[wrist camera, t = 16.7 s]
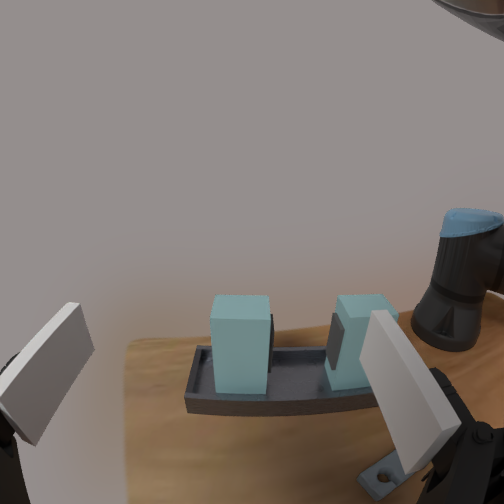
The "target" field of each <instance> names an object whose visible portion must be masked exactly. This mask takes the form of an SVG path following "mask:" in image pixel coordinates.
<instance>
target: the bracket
mask: <svg viewBox="0 0 504 504" xmlns="http://www.w3.org/2000/svg"><path fill="white" fill-rule="evenodd" d="M415 472H416V471H415ZM415 472H412V473H409V474H406V475H405V472H404V469H403V467H402V464H401V461H400V458H399V456H398V453H397V450H396V449H395V450H394V451H393V452H391V453H390V454H388V455H387V456H386V457H384V458H383V459H381V460H380V461H378V462H377V463H375V464H374V465H372V466H371V467H369V468H368V469H366V470H365V471H363V472H361V473H360V475H359V476H358V477H357V481H358V482H359V484H360V485H361V486H362V487H363V488H364V489H365V490H366V491H367V492H368V494H369V495H370V496H371V497H372V498H373V499H374V500H375V501H379V500H381V499H382V498H383V497H385V496H386V495H388V494H389V493H390V492H391V491H393V490H394V489H395V488H396V487H398V486H399V485H401V484H402V483H403V482H404V481H406V480H407V479H408V478H409V477H411V476H412V475H413V474H414V473H415ZM379 474H384V475H386V476H387V477H388V480H389V482H387V483H383V482H380V481H379V480H378V479H377V475H379Z"/></svg>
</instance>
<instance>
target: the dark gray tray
mask: <svg viewBox="0 0 504 504" xmlns="http://www.w3.org/2000/svg"><path fill="white" fill-rule="evenodd" d="M326 347H327V346H312V347H273V357H272V369H271V373H267V385H266V394H237V393H216V389H215V378H214V367H213V355H212V346H200V345H197V348H196V352H195V356H194V360H193V364H192V367H191V371H190V375H189V379H188V384H187V388H186V392H185V396H184V399H185V404H186V408H187V413H194V414H206V415H221V416H296V415H311V414H323V413H333V412H342V411H350V410H357V409H364V408H370V407H376V406H379V404H378V402H377V399H376V397H375V395H374V392H373V390H372V387H371V386H368V387H361V388H353V389H344V390H334V391H332V389H331V385H330V382H329V379H328V376H327V372H326V369H325V366H324V365H325V360H326V356H327V355H326Z"/></svg>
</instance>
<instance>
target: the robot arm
mask: <svg viewBox="0 0 504 504" xmlns="http://www.w3.org/2000/svg"><path fill="white" fill-rule="evenodd" d="M432 1H433V2H435V3H436V4H437V5H439V6H441V7H442V8H444V9H445V10H447V11H449V12H450V13H452V14H453V15H455V16H457V17H458V18H460V19H462V20H463V21H465V22H467V23H468V24H470V25H472V26H474V27H476V28H478V29H480V30H481V31H483V32H485V33H487V34H489V35H491V36H493V37H495V38H497V39H499V40H502V41H504V0H432ZM487 290H491V291H494V292H497V293H500V294H503V295H504V217H503V215H502V214H499V213H496V212H490V211H487V210H479V209H470V208H455V209H451V210H449V211H448V212H447V213H446V214H445V217H444V221H443V225H442V230H441V232H440V242H439V247H438V252H437V257H436V261H435V266H434V270H433V274H432V278H431V282H430V285H429V287H428V289H427V291H426V292H425V294H424V296H423V298H422V300H421V301H420V303H419V304H417V306H416V307H415V309H414V312H413V315H412V318H411V326H412V329H413V330H414V332H415V333H416V334H417V335H418V336H419V337H420V338H421V339H422V340H423V341H425V342H426V343H428V344H430V345H432V346H434V347H436V348H439V349H442V350H446V351H452V352H460V351H465V350H468V349H470V348H472V347H473V346H474V345H475V343H476V341H477V339H478V336H479V334H480V327H481V326H480V323H481V315H482V304H483V300H484V297H485V294H486V291H487ZM94 350H95V349H94V346H93V343H92V340H91V337H90V334H89V331H88V328H87V325H86V322H85V319H84V315H83V312H82V308H81V305H80V303H71V302H68V303H67V304H66V305H65V306H64V307H63V308H62V309H61V310H60V311H59V312H58V313H57V314H56V315H55V316H54V317H53V318H52V319H51V320H50V321H49V322H48V323H47V324H46V325H45V326H44V327H43V328H42V329H41V330H40V331H39V332H38V333H37V334H36V336H35V337H34V338H33V339H32V340H31V341H30V342H29V343H28V344H27V345H26V346H25V348H24V349H23V350H22V351H21V352H19V353H18V354H16V355H15V356H13V357H12V358H11V359H10V360H9V361H8V362H7V364H6V366H4V367H3V368H2V370H1V372H0V504H31V503H30V500H29V497H28V493H27V490H26V486H25V482H24V478H23V474H22V469H21V464H20V459H19V454H18V448H17V442H16V439H15V437H14V436H13V434H14V433H15V431H16V433H17V434H18V435H19V436H20V437H21V439H22V440H23V441H25V442H27V443H29V444H31V445H33V446H36V445H37V443H38V441H39V440H40V438H41V436H42V434H43V432H44V431H45V429H46V427H47V425H48V424H49V422H50V420H51V418H52V417H53V415H54V413H55V412H56V410H57V408H58V406H59V405H60V403H61V402H62V400H63V398H64V397H65V395H66V393H67V392H68V390H69V389H70V387H71V385H72V384H73V382H74V381H75V379H76V378H77V376H78V374H79V373H80V371H81V370H82V368H83V367H84V365H85V364H86V362H87V361H88V359H89V357H90V356H91V355H92V353H93V352H94ZM359 360H360V362H361V364H362V367H363V369H364V371H365V373H366V376H367V378H368V380H369V383H370V385H371V387H372V390H373V392H374V395H375V397H376V399H377V402H378V404H379V407H380V409H381V412H382V414H383V417H384V419H385V422H386V424H387V427H388V429H389V432H390V434H391V437H392V440H393V442H394V445H395V448H396V450H397V453H398V456H399V458H400V461H401V464H402V467H403V469H404V472H405V475H406V474H409V473H412V472H415V471H418V470H421V469H424V468H425V467H426V466H427V464H428V463H429V462H430V461H432V463H433V466H434V467H433V468H432V469H431V470H430V471H429V472H428V473H427V474H426V475H425V476H424V477H423V479H422V480H421V481H425V480H426V479H427V478H428V479H427V481H426V484H425V486H424V488H423V490H422V493H421V495H420V497H419V499H418V501H417V504H504V428H497V429H493V428H492V427H491V426H490V425H489V424H487V423H485V422H479V421H477V422H476V421H475V420H474V418H473V417H472V415H471V413H470V412H469V410H468V409H467V407H466V405H465V404H464V402H463V401H462V399H461V398H460V396H459V395H458V394H457V393H456V392H457V391H456V390H455V388H454V387H453V386H451V385H452V384H451V382H450V381H449V379H448V378H447V377H446V375H445V374H444V373H442V372H441V371H440V370H438V369H437V368H436V367H435V368H431V369H428V368H427V366H426V365H425V363H424V362H423V360H422V359H421V357H420V356H419V354H418V353H417V351H416V350H415V348H414V347H413V345H412V344H411V342H410V341H409V340H408V338H407V337H406V335H405V334H404V332H403V331H402V330H401V328H400V327H399V325H398V324H397V323H396V321H395V320H394V318H393V317H392V316H391V314H390V313H389V312H388V310H372V311H371V316H370V320H369V324H368V328H367V332H366V336H365V340H364V343H363V347H362V351H361V354H360V358H359Z"/></svg>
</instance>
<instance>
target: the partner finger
mask: <svg viewBox="0 0 504 504" xmlns="http://www.w3.org/2000/svg"><path fill="white" fill-rule="evenodd" d="M372 310H388V312H389V313H390V314H391V316H392V317H393V318H394V320H395V321H396V323H397V320H398V317H399V314H398V313H397V311H396V310H395V309H394V308H393V306H392V305H391V304H390V303H389V301H388V300H387V299H386V298H385V297H384V295H383V294H371V295H370V294H369V295H338V297H337V303H336V310H335V313H333V315H332V321H331V326H330V331H329V337H328V342H327V347H326V355H327V356H326V360H325V365H324V366H325V369H326V372H327V376H328V379H329V382H330V385H331V389H332V391H334V390H344V389H353V388H361V387H368V386H371V385H370V383H369V380H368V378H367V376H366V373H365V371H364V369H363V367H362V364H361V362H360V360H359V358H360V354H361V351H362V347H363V343H364V340H365V336H366V332H367V328H368V324H369V320H370V316H371V311H372Z"/></svg>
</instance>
